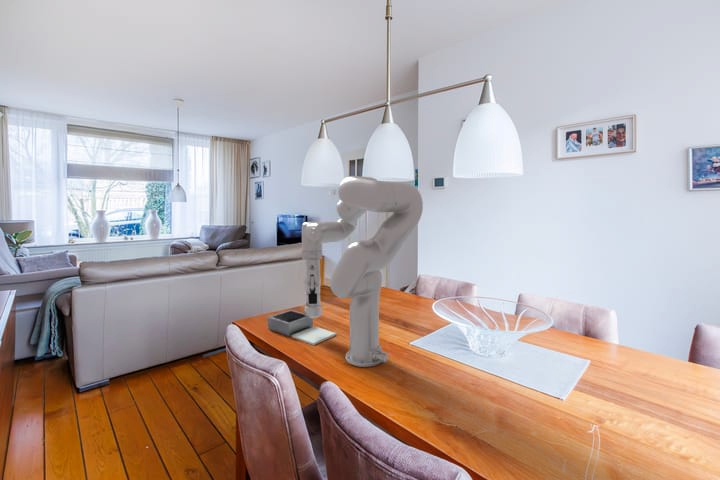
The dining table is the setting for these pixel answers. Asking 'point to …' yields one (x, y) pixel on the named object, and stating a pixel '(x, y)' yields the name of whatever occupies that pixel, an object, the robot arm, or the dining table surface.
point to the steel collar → (289, 322)
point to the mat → (313, 335)
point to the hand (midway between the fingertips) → (313, 300)
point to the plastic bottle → (312, 309)
